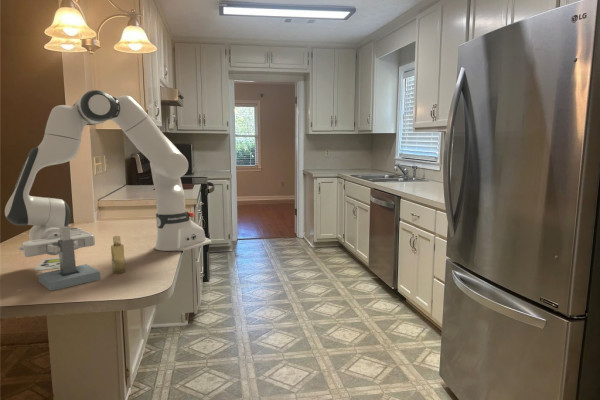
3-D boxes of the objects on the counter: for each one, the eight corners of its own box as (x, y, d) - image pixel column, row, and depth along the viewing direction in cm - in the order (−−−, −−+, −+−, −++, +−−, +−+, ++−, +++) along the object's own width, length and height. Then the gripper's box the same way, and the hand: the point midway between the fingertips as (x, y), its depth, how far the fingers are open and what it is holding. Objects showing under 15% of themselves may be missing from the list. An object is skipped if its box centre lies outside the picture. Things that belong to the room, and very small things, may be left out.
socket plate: (86, 271, 141) (86, 264, 141) (100, 279, 133) (99, 271, 132) (39, 281, 131) (38, 273, 131) (50, 290, 123) (49, 282, 122)
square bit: (72, 269, 134) (68, 225, 132) (76, 271, 131) (72, 227, 129) (60, 271, 131) (56, 227, 129) (64, 273, 129) (59, 228, 127)
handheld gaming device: (33, 270, 142) (43, 258, 156) (33, 272, 142) (44, 260, 156) (62, 266, 145) (70, 255, 159) (63, 269, 145) (70, 257, 159)
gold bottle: (122, 269, 142) (120, 234, 140) (126, 272, 139) (124, 236, 138) (111, 271, 140) (108, 236, 138) (115, 274, 137) (112, 238, 135)
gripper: (15, 237, 132) (26, 244, 122) (85, 227, 146) (100, 233, 136) (17, 256, 132) (29, 265, 123) (86, 244, 147) (101, 252, 137)
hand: (67, 248), depth 130 cm, fingers closed on square bit, 3 cm apart
